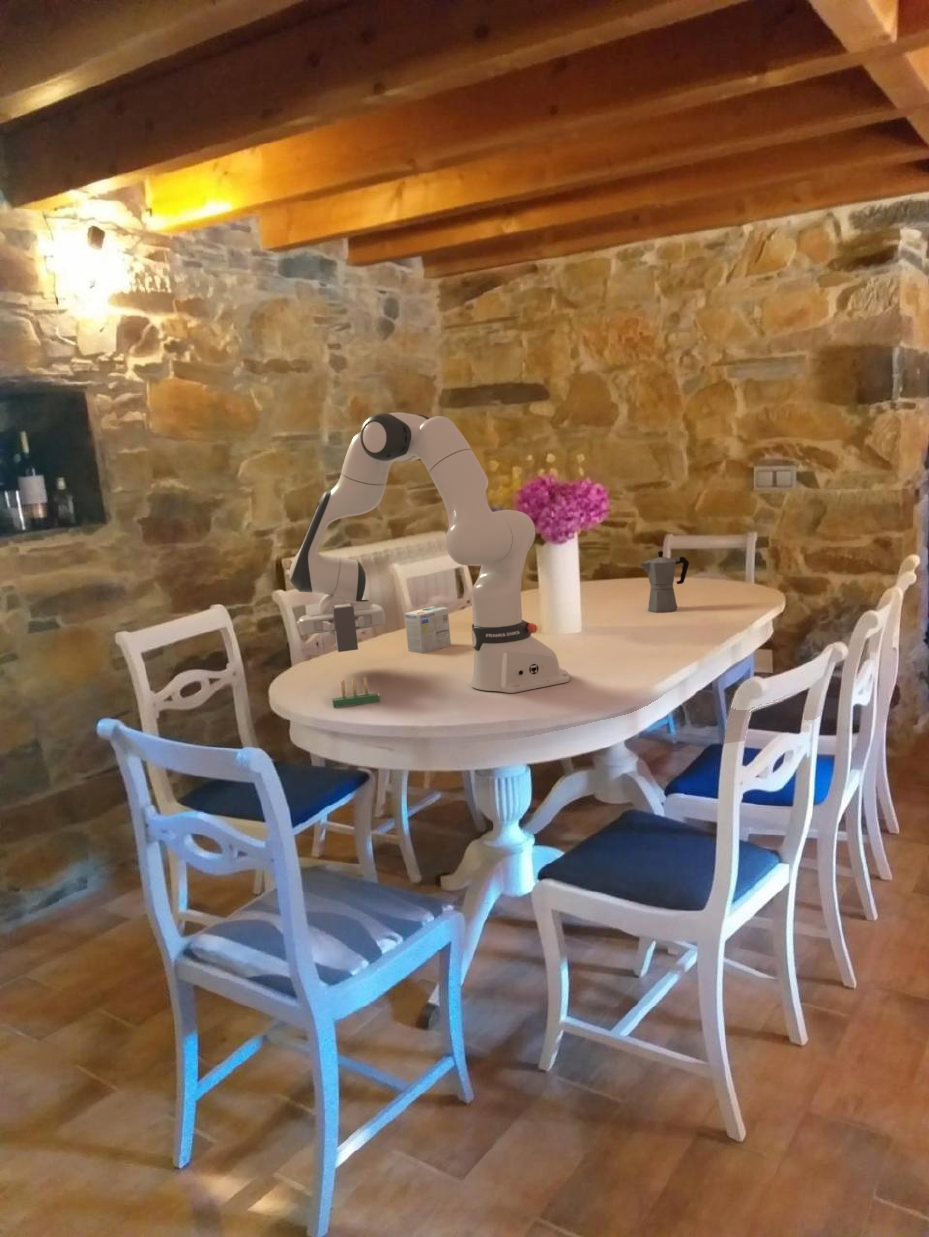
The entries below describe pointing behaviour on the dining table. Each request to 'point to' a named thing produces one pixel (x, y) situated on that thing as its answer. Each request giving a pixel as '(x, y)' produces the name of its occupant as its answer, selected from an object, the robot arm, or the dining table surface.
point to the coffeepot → (663, 582)
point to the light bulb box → (427, 629)
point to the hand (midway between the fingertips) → (345, 626)
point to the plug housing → (345, 627)
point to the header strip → (355, 696)
